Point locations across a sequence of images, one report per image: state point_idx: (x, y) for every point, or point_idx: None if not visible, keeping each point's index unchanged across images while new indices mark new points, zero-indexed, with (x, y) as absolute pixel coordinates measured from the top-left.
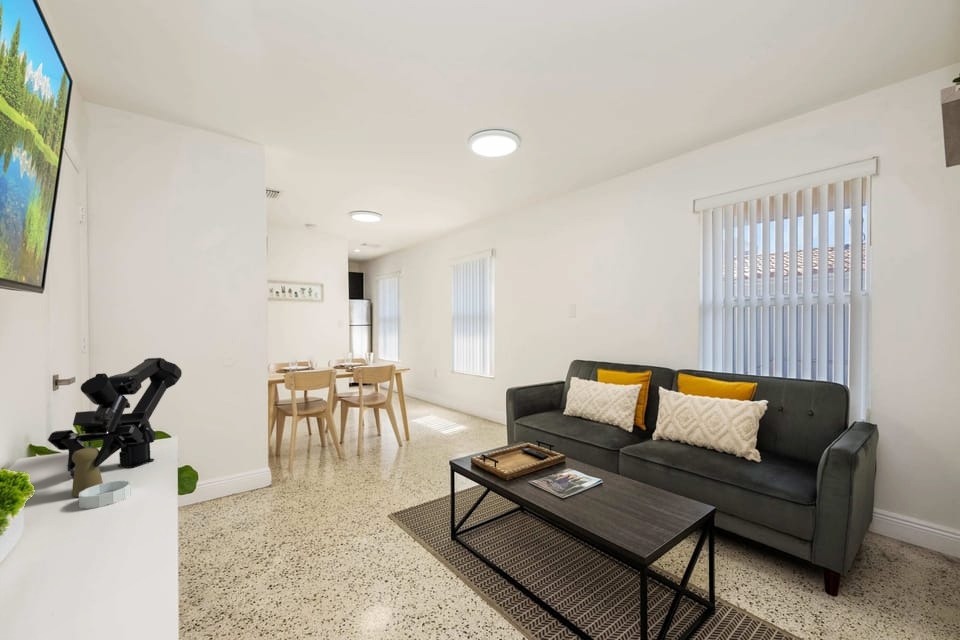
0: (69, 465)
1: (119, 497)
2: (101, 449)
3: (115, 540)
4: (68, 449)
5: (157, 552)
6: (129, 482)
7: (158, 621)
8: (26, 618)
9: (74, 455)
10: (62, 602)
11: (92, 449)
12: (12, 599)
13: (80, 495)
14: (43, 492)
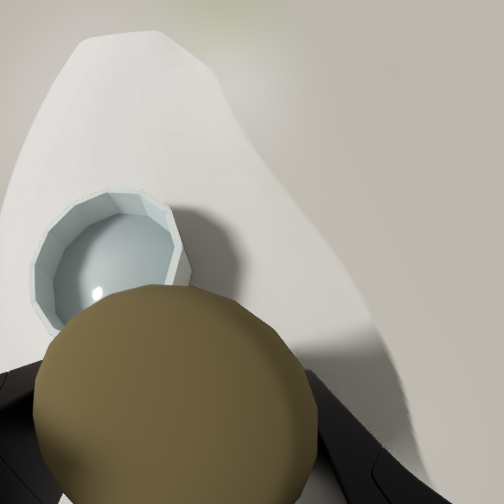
0: (310, 376)
1: (71, 233)
2: (6, 396)
3: (92, 91)
4: (440, 496)
5: (63, 77)
6: (32, 285)
7: (84, 41)
8: (151, 34)
9: (250, 315)
10: (132, 41)
11: (51, 374)
12: (170, 41)
13: (165, 209)
14: (427, 474)
